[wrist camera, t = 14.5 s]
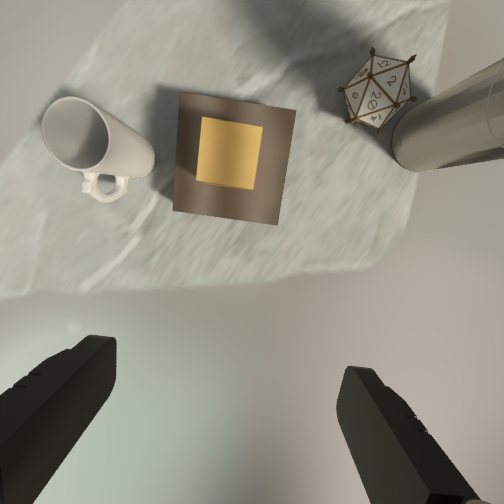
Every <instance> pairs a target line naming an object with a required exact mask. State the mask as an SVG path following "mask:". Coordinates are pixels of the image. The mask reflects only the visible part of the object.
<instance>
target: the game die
mask: <svg viewBox="0 0 504 504" xmlns="http://www.w3.org/2000/svg"><path fill="white" fill-rule="evenodd" d="M374 53H375V49H374V48H373V47H372V48H371V50H370V54H371V57H370V59H369V60H368V61H367V62H366V63H365V64H364V66H363V67H362V68H361V69H360V70H359V71H358V73H357V74H356V75H355V76H354V77H353V78H352V80H351V81H350V82H349V83H348V84H347V85H346V87H345V88H342V87H339V88H337V90H338V91H339V92H342V91H343V93H344V97H345V100H346V104H347V108H348V112H349V116H350V119H348V120H347V123H350V122H351V124H352V123H355V121H356V122H359V123H362V124H365V125H368V126H370V127H373V128H376V129H378V131H377V132H378V133H377V134H379V135H381V133H382V130H381V127H382V126H384V125H385V124H386V123H387V122H388V121H389V120H390V119H391V118H392V117H393V116H394V115H395V114H396V113H397V112H398V111H399V110H400V109H401V108H402V107H403V106H404V105H405V104H406V103H407V102H408V101H409V100H411V101H413V102H414V101H416V100H418V99H417V98H416V96H415V97H414V96H413V97H411V92H410V72H409V64H410V63H411V62H412V61H413V60H415V57H416V55H417V54H416V55H414V56H411V58H409V60H408V61H403V60H398V59H392V58H387V57H382V56H377V55H374ZM347 123H346V124H347Z"/></svg>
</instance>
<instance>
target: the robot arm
mask: <svg viewBox="0 0 504 504" xmlns="http://www.w3.org/2000/svg"><path fill="white" fill-rule="evenodd" d="M392 149H393V153H394V156H395V158H396V160H397V161H398V162H399V164H400V165H401V166H403V167H404V168H406V169H408V170H411V171H416V172H420V171H428V170H435V169H441V168H448V167H454V166H460V165H467V164H473V163H479V162H485V161H491V160H498V159H504V58H503V59H501V60H499V61H497V62H496V63H494V64H492V65H490V66H488V67H487V68H485V69H483V70H481V71H479V72H478V73H476V74H474V75H472V76H470V77H468V78H467V79H465V80H463V81H461V82H459V83H458V84H456V85H454V86H452V87H450V88H449V89H447V90H445V91H443V92H441V93H440V94H438V95H436V96H434V97H432V98H430V99H429V100H427V101H425V102H423V103H422V104H420V105H418V106H416V107H414V108H413V109H411V110H409V111H408V112H407V113H406V114H405V115H404V116H403V117H402V118H401V119H400V120H399V122H398V124H397V126H396V127H395V130H394V133H393V138H392ZM116 345H117V344H116V339H115V338H114V337H107V336H98V335H88V336H87V337H85V338H84V339H83V340H82V341H80V342H79V343H78V344H77V345H76V346H74V347H73V348H72V349H66V350H63V351H61V352H60V353H57V354H55V355H53V356H51V357H49V358H47V359H46V360H44V361H43V362H42V363H41V364H39V365H38V366H37V367H36V368H34V369H33V370H32V371H30V372H29V374H28V375H27V376H24V377H23V378H22V379H20V380H19V381H18V382H16V383H15V384H14V385H13V387H12V388H9V389H7V390H6V391H5V392H4V393H3V394H1V395H0V504H33V503H34V501H35V500H36V498H37V497H38V496H39V494H40V493H41V491H42V490H43V489H44V487H45V486H46V484H47V483H48V481H49V480H50V479H51V477H52V476H53V474H54V473H55V472H56V470H57V469H58V468H59V466H60V465H61V463H62V462H63V460H64V459H65V458H66V456H67V455H68V453H69V452H70V451H71V449H72V448H73V446H74V445H75V443H76V442H77V441H78V439H79V438H80V437H81V435H82V434H83V432H84V431H85V430H86V428H87V427H88V425H89V424H90V422H91V421H92V420H93V418H94V417H95V416H96V414H97V412H98V411H99V410H100V408H101V407H102V406H103V404H104V403H105V401H106V400H107V399H108V397H109V396H110V394H111V392H112V389H113V387H114V384H115V380H116ZM336 409H337V417H338V422H339V425H340V427H341V430H342V432H343V434H344V437H345V440H346V442H347V445H348V447H349V449H350V452H351V455H352V457H353V460H354V462H355V465H356V468H357V470H358V473H359V475H360V478H361V480H362V483H363V485H364V488H365V490H366V493H367V495H368V498H369V500H370V503H371V504H490V503H488V502H485V501H482V500H481V499H480V498H479V497H478V495H477V494H476V493H475V492H474V490H473V489H472V488H471V487H470V485H469V484H468V482H467V481H466V480H465V479H464V477H463V476H462V475H461V473H460V472H459V471H458V469H457V468H456V467H455V466H454V464H453V463H452V462H451V460H450V459H449V458H448V456H447V455H446V454H445V452H444V451H443V450H442V449H441V447H440V446H439V445H438V443H437V442H436V441H435V439H434V438H433V437H432V436H431V435H430V434H428V430H427V429H426V428H425V426H424V425H423V424H422V422H421V421H420V420H418V419H417V416H416V415H415V414H414V412H413V411H412V409H411V408H410V407H409V406H408V404H407V403H406V402H405V400H403V399H402V398H401V397H400V396H399V395H398V394H397V393H395V392H394V391H393V390H392V389H391V388H390V387H388V386H385V385H384V384H383V382H382V381H381V380H380V378H379V377H378V375H377V374H376V373H375V371H374V370H373V369H371V368H365V367H356V366H348V367H347V368H346V370H345V373H344V377H343V381H342V385H341V388H340V392H339V396H338V399H337V406H336Z"/></svg>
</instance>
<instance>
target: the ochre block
mask: <svg viewBox="0 0 504 504" xmlns="http://www.w3.org/2000/svg"><path fill="white" fill-rule="evenodd" d="M262 130H263V127H259V126H253V125H247V124H242V123H236V122H230V121H224V120H219V119H213V118H207V117H202V124H201V134H200V144H199V154H198V165H197V175H196V180H197V181H200V182H203V183H206V184H211V185H217V186H224V187H230V188H236V189H242V190H248V191H253V189H254V182H255V176H256V169H257V163H258V156H259V149H260V143H261V136H262Z"/></svg>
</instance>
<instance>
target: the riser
mask: <svg viewBox="0 0 504 504" xmlns="http://www.w3.org/2000/svg"><path fill="white" fill-rule="evenodd" d="M295 116H296V110H291V109H285V108H279V107H272V106H266V105H260V104H254V103H248V102H241V101H235V100H229V99H223V98H216V97H210V96H204V95H198V94H191V93H185V92H180V100H179V115H178V131H177V147H176V163H175V179H174V195H173V211H178V212H186V213H193V214H200V215H207V216H214V217H221V218H228V219H235V220H243V221H250V222H257V223H264V224H271V225H278V219H279V213H280V207H281V201H282V195H283V189H284V183H285V176H286V170H287V164H288V158H289V152H290V146H291V140H292V134H293V128H294V122H295ZM202 117H207V118H213V119H219V120H224V121H230V122H236V123H242V124H247V125H253V126H259V127H263V130H262V136H261V143H260V149H259V156H258V163H257V169H256V176H255V182H254V189H253V191H248V190H242V189H236V188H230V187H224V186H217V185H211V184H206V183H203V182H200V181H197V180H196V175H197V165H198V154H199V144H200V134H201V124H202Z"/></svg>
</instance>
